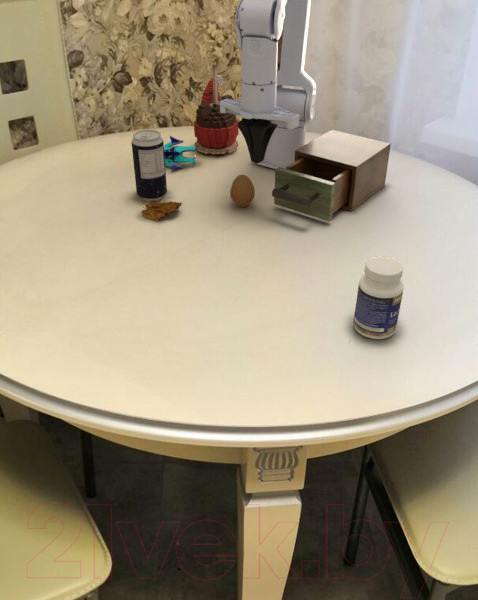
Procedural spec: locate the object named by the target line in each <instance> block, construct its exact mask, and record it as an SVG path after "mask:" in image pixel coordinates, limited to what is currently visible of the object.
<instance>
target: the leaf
mask: <svg viewBox="0 0 478 600" xmlns="http://www.w3.org/2000/svg"><path fill="white" fill-rule="evenodd" d="M182 204H183V202H182V201H181V202H176V201H167V202H165V201H164V202H163V201H162V202H161V201H157V202H156V201H147V203H146V204H145V207H144V206H142V208H143V209H142V210H141V214H142V217H144V218H145V219H149V220H150V221H156V222H159V221H160V220H161V219H162V217H167V216H168V215H169V214H171V213H172V212H174V211H176V210H177V211H178V210H179V208H180V207H181V206H182Z"/></svg>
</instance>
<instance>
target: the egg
mask: <svg viewBox="0 0 478 600" xmlns="http://www.w3.org/2000/svg"><path fill="white" fill-rule="evenodd" d="M254 185H255V184H254V183H253V181H252V179H251V178H250V177H249V176H248V175H246V174H239V175H237V176H236V177H235V178H234V179H233V182H232V184H231V186H230V191H229V192H230V193H229V194H230V199H231V201H232V202H233V204H235V205H236V206H238V207H241V208H242V207H247V206H249V205H250V204H251V203H252V202H253V200H254V199H255V196H256V190H255V189H256V188H255V186H254Z"/></svg>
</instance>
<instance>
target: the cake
mask: <svg viewBox="0 0 478 600" xmlns="http://www.w3.org/2000/svg"><path fill="white" fill-rule="evenodd" d="M211 65H212V66H211V67H212V70H211V71H212V77H210V79H209V80H208V82H207V84H206V86H205V88H204V90H203V92H202V96H201V99H200V104H198V108H196V111H195V112H196V115H195V121H193V132H194V137H195V138H196V141H195V142H194V146H195V150H197V152H199V153H202V154H206V155H207V154H211V155H221V154H222V155H224V154H226V153H228V154H230V153H232V152H235V151H237V150H238V148H239V142H238V140H237V138H238V136H239V128H238V122H239V121H238V119H237V115H236V114H231V113H221V112H220V101H222V100H224V99H232V100H235V98H234V97H233V95H230V94H225V95H222V96H221V95H220V92H219V85H222V84H223V83H224V77H223V75H220V74H218V64H217V63H212V64H211Z"/></svg>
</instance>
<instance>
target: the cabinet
mask: <svg viewBox="0 0 478 600" xmlns="http://www.w3.org/2000/svg"><path fill="white" fill-rule="evenodd" d="M391 145H392V144H391V143H390V142H385V141H381V140H377V139H372V138H369V137H364V136H360V135H356V134H351V133H347V132H343V131H338V130H336V129H335V130H334V129H330V130H328V131H327V132H325V133H324V134H322V135H320V136H318V137H316V138H315V139H312V140H311V141H309V142H308V143H305V145H304V146H302V147H301V148H299V149H297V150H295V160H294V162H295V161H297V160H298V159H300V158H302V157H306V158H309V159H313V160H317V161H321V162H324V163H328V164H332V165H335V166H339V167H343V168H347V169H350V170H352V178H351V187H350V196H349V202H347V203H346V204H345V205H343V206H342V207H341V208H340V209H342V210H346V211H348V212H353V211H355V210H356V209H357V208H358V207H359V206H361V205H363V203H365V202H367V200H369V199H370V198H371V197H372V196H374V195H375V194H376V193H378V192H379V191H381V190H382V189H383V188H384V187H385V186H386V179H387V174H388V165H389V158H390V152H391V147H392V146H391Z"/></svg>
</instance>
